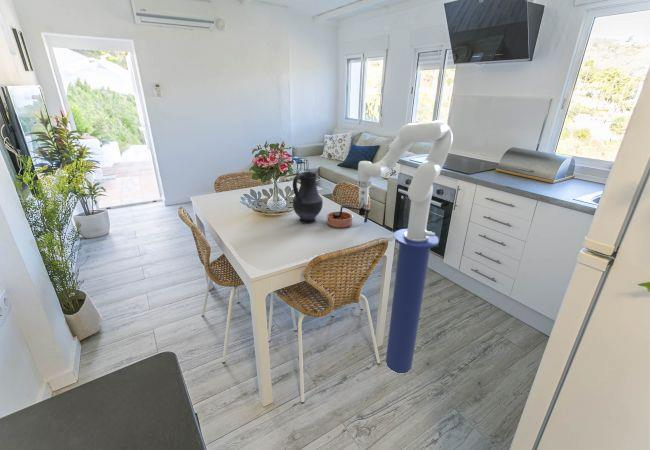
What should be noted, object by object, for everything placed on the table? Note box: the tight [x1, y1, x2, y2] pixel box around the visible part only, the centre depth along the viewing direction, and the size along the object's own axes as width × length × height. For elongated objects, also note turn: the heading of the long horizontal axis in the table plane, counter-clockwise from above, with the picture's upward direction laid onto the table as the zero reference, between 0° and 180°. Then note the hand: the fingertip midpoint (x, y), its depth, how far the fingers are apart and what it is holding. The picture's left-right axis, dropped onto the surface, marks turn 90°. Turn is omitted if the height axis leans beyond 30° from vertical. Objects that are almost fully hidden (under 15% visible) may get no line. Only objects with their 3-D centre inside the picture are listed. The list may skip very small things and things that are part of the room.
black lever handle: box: [333, 204, 371, 224], centre depth 183 cm, size 21×5×8 cm, turn 79°
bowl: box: [326, 211, 353, 229], centre depth 184 cm, size 15×15×5 cm
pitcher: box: [292, 171, 324, 224], centre depth 182 cm, size 17×21×30 cm
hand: (361, 214), depth 182 cm, fingers closed on black lever handle, 1 cm apart
